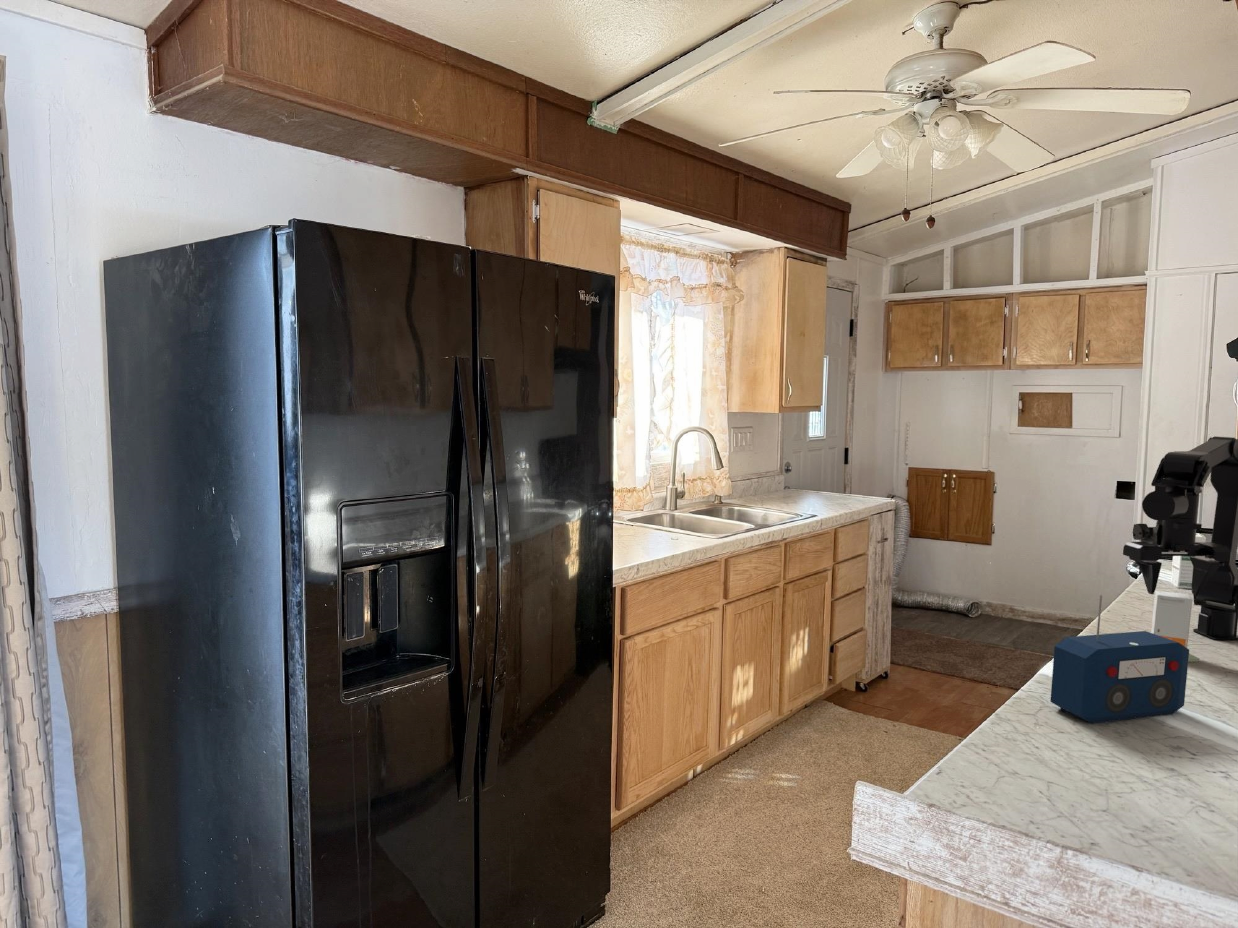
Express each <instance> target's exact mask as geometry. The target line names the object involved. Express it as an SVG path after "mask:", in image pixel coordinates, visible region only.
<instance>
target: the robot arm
mask: <svg viewBox="0 0 1238 928" xmlns="http://www.w3.org/2000/svg"><path fill="white" fill-rule="evenodd" d="M1209 477H1210V478H1209ZM1208 478H1209V480H1210V483H1211V485H1212V486H1213V488H1214V490H1215V492H1216V493H1217V494H1216V503H1215V510H1214V511H1215V512H1214V517H1213V527H1212V532H1211V533H1212V534H1211V540H1210V542H1207V541H1206V542H1195V538H1196V534H1197V530H1202V527H1203V524H1202V523H1198V515H1199V506H1200V505H1199V504H1200V497H1201V496H1200V494H1202V492H1203V490H1202V488H1203V487H1204V486H1205V483H1207V480H1208ZM1151 487H1154V490H1153V491H1151V492H1149V493H1147V494H1146V495H1145V496H1144V498H1143V500H1142V503H1141V507H1142V511H1143V513H1144V514H1145V515H1146V516H1147V517H1148V518H1150V519H1151V520H1153V521H1156V523H1155V526H1148V525H1147V523H1135V524H1133V527H1132V532H1131V533H1132V538H1133V539H1134V540H1135V541H1127V542H1126V543H1125V544H1124V545H1123V549H1122V551H1123V552H1122V555H1123V556H1125V557H1128V558H1129V560H1130V561H1133V562H1135V564H1136V565H1138V567H1139V570H1140V572H1141V574H1142V578H1143V580H1144V585H1145V587H1146V590H1147V593H1148V594H1149V595H1155V591H1156V589H1157V586H1158V581H1159V576H1160V573H1161V569H1162V562H1160V561H1159V560H1160V559H1161V558H1162V557H1173V556H1195V557H1190V560H1191V562H1192V565H1193V575H1192V589H1191V593H1192V594H1193V597H1192V598H1193V605H1194V606H1200V612H1199V613H1198V618H1197V619H1198V620H1197V628H1193V632H1195V633H1197V634H1200V635H1202V636H1205V637H1207V638H1210V639H1212V640H1216V641H1217V640H1221V641H1223V640H1233V641H1234V640H1238V635H1237V634H1238V566H1237V565H1236V559H1237V551H1238V438H1236V437H1229V436H1215V435H1214V436H1213V437H1212V436H1211V437H1209V438H1208V440H1207V441H1205V442H1203V443H1201V444H1200V445H1197V446H1196V447H1194V448H1192V449H1190V450H1185V451H1184V450H1183V451H1180V450H1179V451H1176V450H1175V451H1169V452H1167V453H1166V454H1165V455H1164V456H1163V457H1162V458H1161V460H1160V462H1159V465H1158V467H1157V469H1156V471H1155V473H1154V476H1153V479H1152V481H1151ZM1181 551H1182V552H1181Z"/></svg>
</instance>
